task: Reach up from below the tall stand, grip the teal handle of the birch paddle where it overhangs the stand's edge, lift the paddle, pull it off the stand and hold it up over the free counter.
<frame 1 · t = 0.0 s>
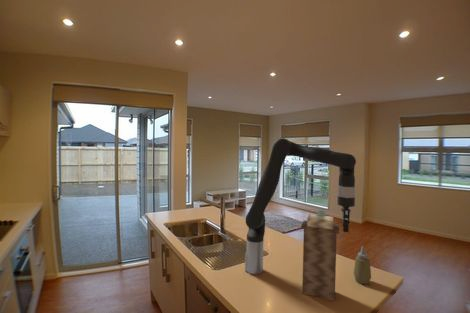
hand: (345, 229, 115), 29 cm above the counter, tool pointing down, fingers open, 8 cm apart
stand: (318, 292, 112), on the counter
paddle: (320, 224, 113), point 32 cm above the counter, touching stand
squeeze bottle: (362, 282, 123), on the counter
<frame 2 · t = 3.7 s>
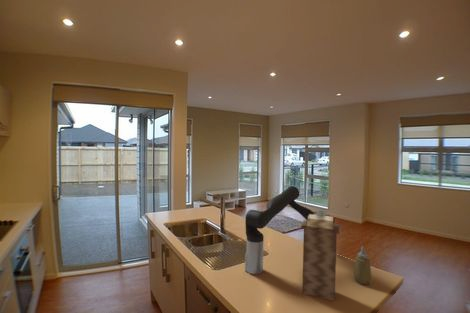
hand: (320, 216, 134), 30 cm above the counter, tool pointing upward, fingers open, 8 cm apart
nothing on the counter moved.
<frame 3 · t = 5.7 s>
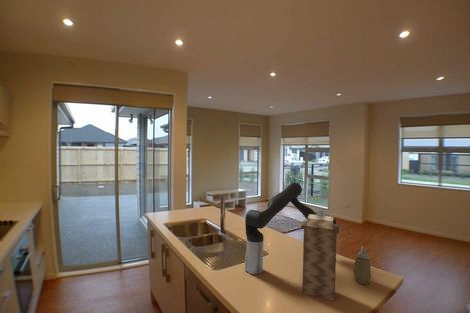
hand: (321, 217, 125), 32 cm above the counter, tool pointing upward, fingers open, 8 cm apart
nothing on the counter moved.
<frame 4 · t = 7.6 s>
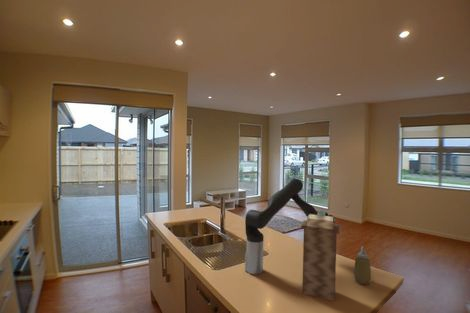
hand: (321, 213, 120), 35 cm above the counter, tool pointing upward, fingers closed on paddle, 3 cm apart
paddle: (320, 224, 113), point 32 cm above the counter, touching gripper, stand
everything else where it was.
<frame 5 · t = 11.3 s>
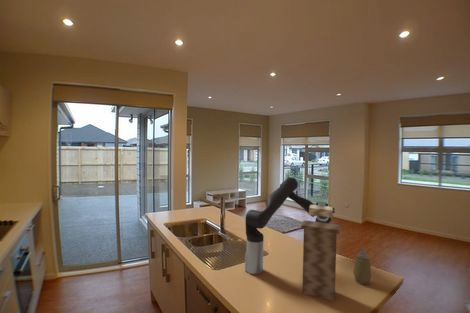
hand: (321, 204, 130), 38 cm above the counter, tool pointing upward, fingers closed on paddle, 3 cm apart
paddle: (321, 213, 124), point 35 cm above the counter, touching gripper
everything else where it was.
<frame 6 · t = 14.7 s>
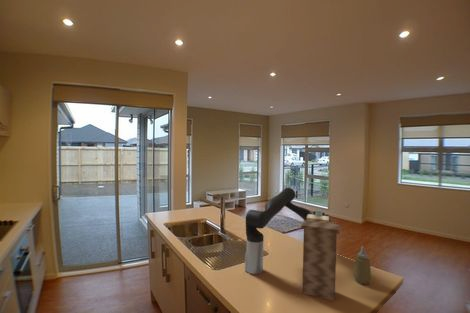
hand: (318, 213, 136), 31 cm above the counter, tool pointing upward, fingers closed on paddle, 3 cm apart
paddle: (317, 222, 129), point 28 cm above the counter, touching gripper
everything else where it was.
at the end: the gripper is holding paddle; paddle inside the target area (1.0 cm from its centre), point 28.1 cm above the counter; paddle touching gripper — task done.
